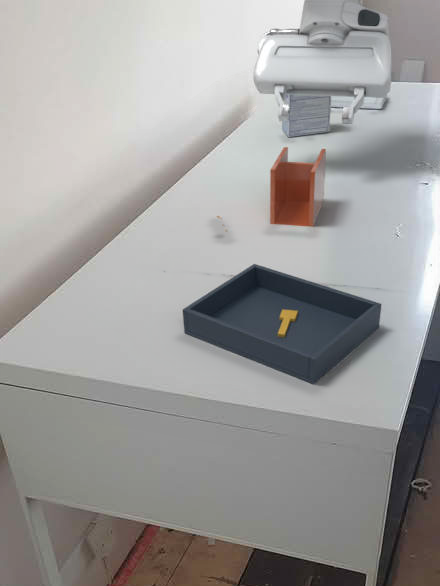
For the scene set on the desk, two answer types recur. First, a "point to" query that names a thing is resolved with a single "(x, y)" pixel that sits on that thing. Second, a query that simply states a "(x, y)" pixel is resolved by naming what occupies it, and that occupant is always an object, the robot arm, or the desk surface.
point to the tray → (265, 320)
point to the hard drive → (368, 104)
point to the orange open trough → (296, 190)
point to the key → (286, 321)
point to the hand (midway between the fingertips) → (314, 120)
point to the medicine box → (307, 115)
